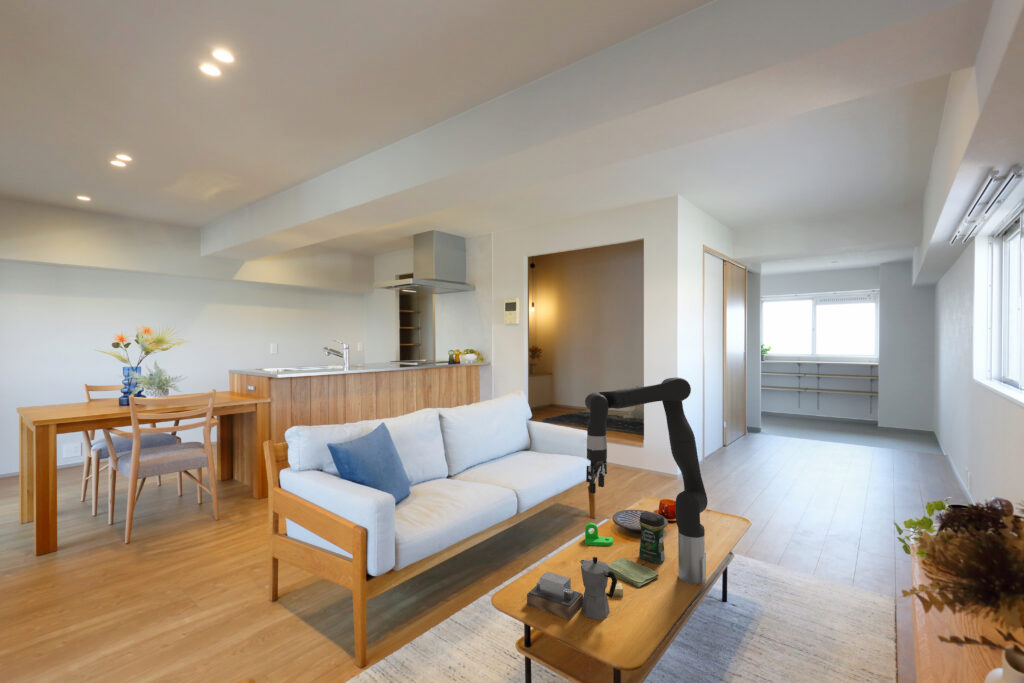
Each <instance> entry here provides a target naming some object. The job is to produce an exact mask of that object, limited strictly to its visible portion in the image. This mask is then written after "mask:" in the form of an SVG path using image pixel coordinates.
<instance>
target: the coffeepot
mask: <svg viewBox="0 0 1024 683" xmlns="http://www.w3.org/2000/svg"><path fill="white" fill-rule="evenodd" d="M579 563H580V564H581V565H580V571H581V572H580V573H581V578H582V583H583V586H584V592H583V602H582V607H581V608H580V611H581V613H582V614H583V615H584V616H585V617H586V618H590V619H593V620H602V619H605V618H608V616H609V614H610V612H611V611H610V606H609V598H611V599H612V598H613V597H614V596H613V594H614V591H615V587H616V584H617V583H618V578H617V577H616V576H615V574H614V573H613V572H610V571H609V568H610V567H609V566H608V565H607V564H608V563H606V562H605V561H601V560H598V557H597V556H593V557H592V559H591V560H589V559H581V560H580V561H579ZM609 578H610V579H611V582H610V583H611V588H610V587H609V593H608V592H606V589H607V588H608V581H609Z"/></svg>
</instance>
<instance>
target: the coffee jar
mask: <svg viewBox="0 0 1024 683" xmlns="http://www.w3.org/2000/svg"><path fill="white" fill-rule="evenodd" d="M638 522H639V526H640V543H639V551H638V552H639V553H638V554H639V557H640V559H642V560H644V561H647V562H650V563H653V564H659V563H662V562H664V560H665V558H666V557H665V556H666V555H665V546H664V528H665V525H666V524H665V517H664V515H660V514H657V513H653V512H650V511H648V510H645V511H643V512H640V515H639V521H638Z"/></svg>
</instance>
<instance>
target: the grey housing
mask: <svg viewBox="0 0 1024 683" xmlns="http://www.w3.org/2000/svg"><path fill="white" fill-rule="evenodd" d="M571 580H572V579H571V578H570V577H568V576H564V575H561V574H557V573H554V572H550V571H548V570H547V571H546V572H544V573H543V574H542V575H541V576H540V577H539V580H538V581H537V582H536V585H537V589H539V590H540V592H541V593H544V594H547V595H550V596H553V597H556V598H559V599H562V600H565V599H566V598H567V599H570V600H572V599H573V598H574V591H575V590H574V589H572V588H571V586H572V585H571Z"/></svg>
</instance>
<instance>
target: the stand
mask: <svg viewBox="0 0 1024 683" xmlns="http://www.w3.org/2000/svg"><path fill="white" fill-rule="evenodd" d="M583 596H584V593H582V592H579V591H575V590H574V598H573V599H572V600H570V599H567V598H566V599H565V600H562V599H559V598H556V597H553V596H550V595H547V594H544V593H541V592H540V590H539V589H537V584H536V585H535V586H534V587H533V588H531V589H530V591H529V592H527V594H526V605H527V606H529V607H531V608H534V609H537V610H540V611H543V612H545V613H549V614H551V613H552V614H551V615H554V616H557V617H559V616H560V618H562V617H563V618H562V619H566V620H569V621H571V620H572V619H573V618H574V617H575V615H576V614H577V613H578V611H580V610H581V608H582V602H583Z"/></svg>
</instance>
